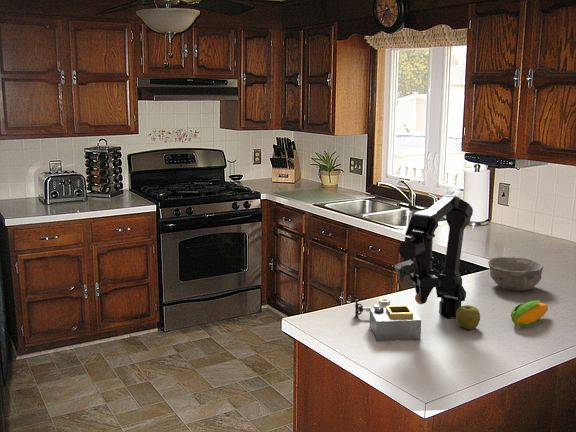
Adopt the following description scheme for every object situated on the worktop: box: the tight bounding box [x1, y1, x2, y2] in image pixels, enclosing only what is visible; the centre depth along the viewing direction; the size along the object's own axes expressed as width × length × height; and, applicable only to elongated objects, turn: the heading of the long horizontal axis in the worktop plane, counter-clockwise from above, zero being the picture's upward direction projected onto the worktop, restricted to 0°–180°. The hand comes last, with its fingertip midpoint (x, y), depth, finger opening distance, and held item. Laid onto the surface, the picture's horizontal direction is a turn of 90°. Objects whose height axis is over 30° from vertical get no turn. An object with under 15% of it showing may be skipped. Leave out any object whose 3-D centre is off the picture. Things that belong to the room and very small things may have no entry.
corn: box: [510, 299, 549, 328], centre depth 209 cm, size 7×8×20 cm
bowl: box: [487, 256, 544, 292], centre depth 245 cm, size 21×21×10 cm
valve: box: [354, 297, 391, 319], centre depth 215 cm, size 7×7×12 cm
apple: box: [455, 304, 481, 330], centre depth 205 cm, size 8×8×7 cm
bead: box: [414, 292, 428, 305], centre depth 198 cm, size 4×4×4 cm
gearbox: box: [369, 304, 422, 342], centre depth 201 cm, size 14×12×8 cm
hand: (420, 300), depth 198 cm, fingers closed on bead, 4 cm apart
